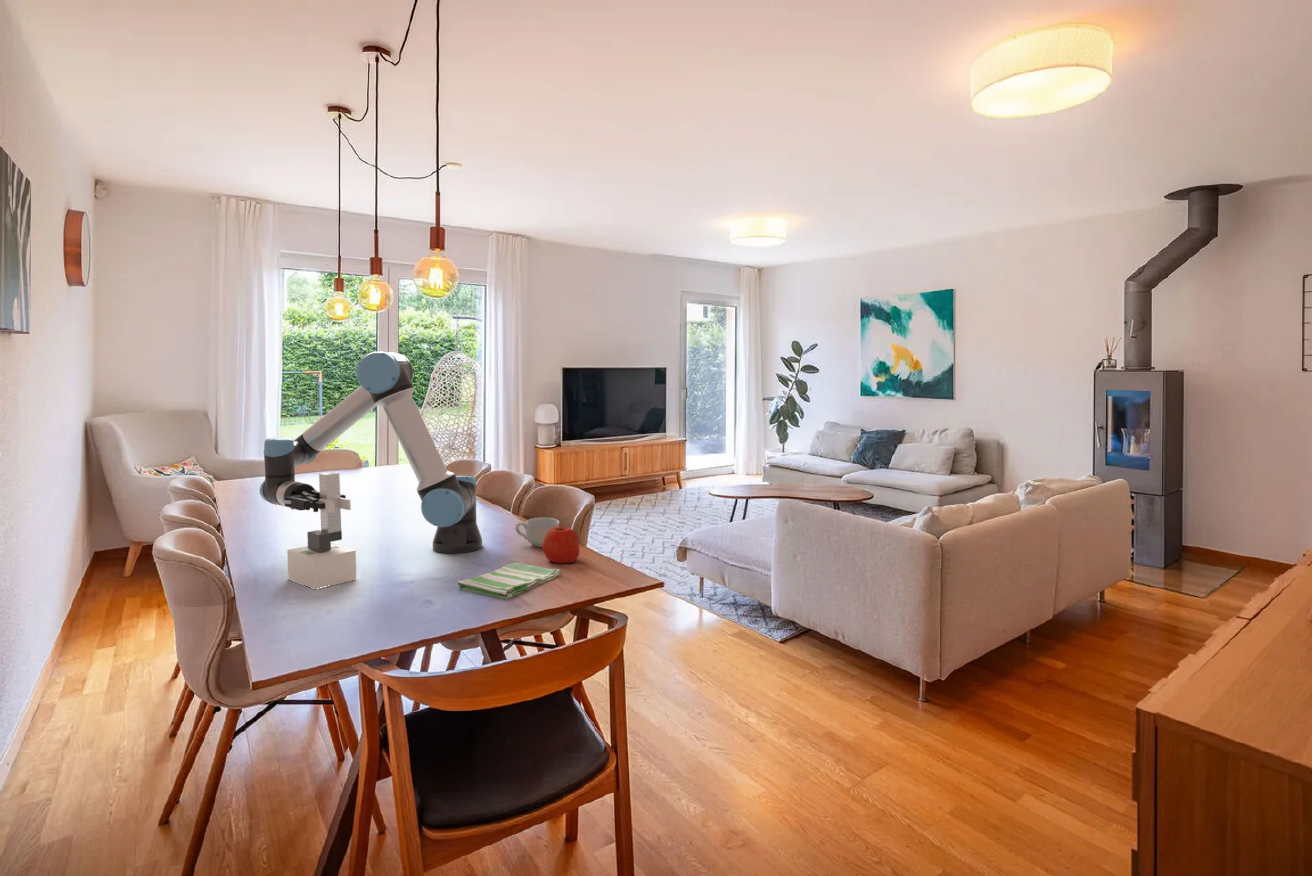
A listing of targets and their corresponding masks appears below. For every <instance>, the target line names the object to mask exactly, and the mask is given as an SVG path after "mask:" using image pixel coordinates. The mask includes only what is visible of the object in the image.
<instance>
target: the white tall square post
mask: <svg viewBox="0 0 1312 876" xmlns="http://www.w3.org/2000/svg"><path fill="white" fill-rule="evenodd" d="M318 481H319V482H318V483H319V492H320V499H324V500H329V501H333V502H335V512H328V511H324V510H320V509H319V510H320V511H319V512H320V531H324V532H327V533H330V538H331V543H332V542H336V541H342V539H343V533H342V516H341V515H342V513H341V511H342V508H340V494H341V484H340V483H341V482H340V473H339V472H335V471H331V472H330V471H329V472H322V473H321V472H320V473H318Z"/></svg>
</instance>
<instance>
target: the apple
mask: <svg viewBox="0 0 1312 876" xmlns="http://www.w3.org/2000/svg"><path fill="white" fill-rule="evenodd" d="M578 539H579V538H578V535H577V533H576V532H575V531H574V529H572V528H570V527H567V526H559V527H553V528H552V529H550V530H549V532H548V533H547V535H546V536H545V538H544V541H543V545H542V547H541V548H542V553H543V554H544V556H545V557H546V559H547V561H549V562H552V563H555V564H562V565H563V563H564V564H570V563H571V562H572V563H574V562H576V561H577V560H578V558H579V555H580V544H579V540H578Z"/></svg>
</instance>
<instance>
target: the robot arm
mask: <svg viewBox="0 0 1312 876" xmlns="http://www.w3.org/2000/svg"><path fill="white" fill-rule="evenodd" d="M413 378H414V368H413V365H412V363H411V361H410V360H409V359H408V358H407V357H406V356H405V355H403V354H400V353H398V352H388V351H385V350H377V351H373V352H370V353H368V354H366V355H364V356H363V357H362V358H361V359H360V360H359V363H358V364H357V368H356V379H357V381H358V383H359V385H360V386H358V387H357V388H356V389H355V390H354V391H352V392H351V393H350V394H349V395H348V396H346V397H345V398H344V399H343V400H341V401H340V402H339V403H337V404H336V405H335V406H334V407H333V408H331V409H330V410H329V411H328V412H326V414H324V415H323V416H322V417H321V418H319V419H318V420H317V421H316V422H315V423H313V424H312V425H311V426H310V427H308V428H307V429H306V430H305V431H304V432H302V434H300V435H299V436H298V437H296V438H295V439H293V438H291V437H284V436H283V437H282V436H281V437H269V438H266V439H265V440H264V443H263V447H264V448H263V455H264V458H263V459H264V481H263V482H262V483H261V485H260V487H259V494H260V496H261V498H262V499H263V500H264V501H266V502H268V503H270V504H272V505H274V506H277V505H278V506H282V507H284V508H285V507H286V508H290V510H296V511H305V510H306V511H309V510H311V509H312V510H313V511H312V512H313V513H318V512H319V510H324V511H328V512H335V502H333V501H329V500H324V499H320V491H318V490H316V489H315V487H313V486H312V485H311V484H309V483H304V482H301V481H296V479H295V478H296V474H295V473H296V472H295V467H299V466H303V465H307V464H309V463H311V462H313V461H315V460H316V459H317V458H318V455H319V454H320V452H322V451H323V450H324V449H326V448H327V446H329V445H331V444H332V443H333V442H334V441H335V440H336V439H338V438H339V437H340V436H342V435H343V434H344V433H345V432H346V431H348V430H349V429H350V428H351V427H353V426H354V425H355V424H356V423H358V421H360V420H362V418H364V417H365V416H366V415H367V414H368V413H370V412H371V411H372V410H373V409H375V408H376V407H377V406H379V407H381V408H382V409H383V411H384V412H385V414H386V417H387V418H388V421H389V423H390V425H391V428H392V430H393V432H394V434H395V435H396V437H397V440H398V442H399V444H400V446H401V448H402V450H403V452H404V455H405V456H406V459H407V460H408V462H409V464H410V466H411V469H412V470H413V473H414V475H415V478H416V479H417V482H418V485H417V487H416V492H417V494H418V496H419V499H420V500H421V504H420V511H421V513H422V516H423V518H424V519H425V521H426V522H427V523H429V524H431V525H433V526H435V527H436V531H435V534H434V536H433V537H434V538H433V539H432V550H433V551H435V552H437V553H443V554H460V553H461V554H462V553H469V552H473V551H477V550H479V549H481V548H482V547H483V538H482V534H481V532H480V530H479V526H478V523H477V479H476V477H474V476H472V475H456V474H455V472H452V471H449V470H448V469H447V467H446V465H445V462H444V461H443V458H442V457H441V455H440V453H439V450H438V449H437V446H436V444H435V442H434V440H433V438H432V435H431V433H430V431H429V429H428V427H427V425H426V423H425V421H424V418H423V416H422V415H421V412H420V411H419V408H418V406H417V404H416V402H415V400H414V398H413V395H414V394H413V393H414V391H415V386H414V385H413V382H412V381H413ZM346 497H347V496H346V495H345V494H341V493H340V508H341V510H346V511H350V510H351V498H346Z"/></svg>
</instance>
